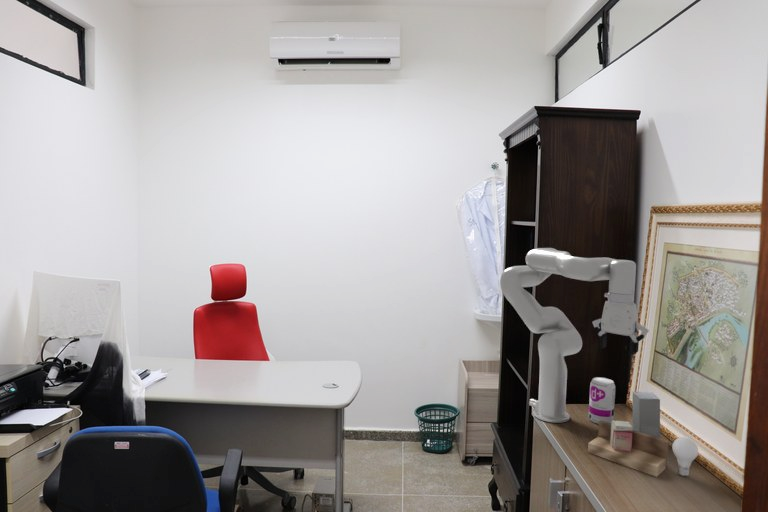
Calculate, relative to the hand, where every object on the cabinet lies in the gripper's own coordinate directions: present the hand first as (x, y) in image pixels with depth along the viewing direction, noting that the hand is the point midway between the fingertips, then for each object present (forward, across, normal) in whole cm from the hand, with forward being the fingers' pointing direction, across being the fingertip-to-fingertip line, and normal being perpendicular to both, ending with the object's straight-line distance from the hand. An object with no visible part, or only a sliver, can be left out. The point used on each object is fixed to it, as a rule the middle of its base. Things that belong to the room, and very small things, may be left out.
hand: (618, 350), depth 164 cm
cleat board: (+30, +8, -10) cm, 33 cm away
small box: (+28, +6, -10) cm, 30 cm away
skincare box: (+31, +7, +8) cm, 32 cm away
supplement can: (+31, -10, +14) cm, 35 cm away
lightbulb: (+31, +23, -7) cm, 39 cm away
